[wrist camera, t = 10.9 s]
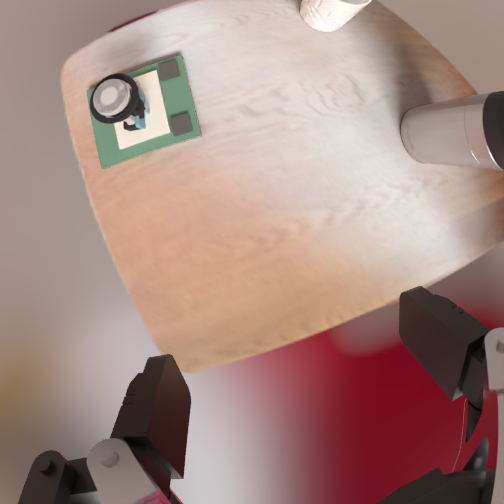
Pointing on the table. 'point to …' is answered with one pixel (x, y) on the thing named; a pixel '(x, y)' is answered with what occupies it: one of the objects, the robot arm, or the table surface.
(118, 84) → the push button
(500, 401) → the robot arm
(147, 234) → the table surface
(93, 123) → the board
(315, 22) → the white cup
